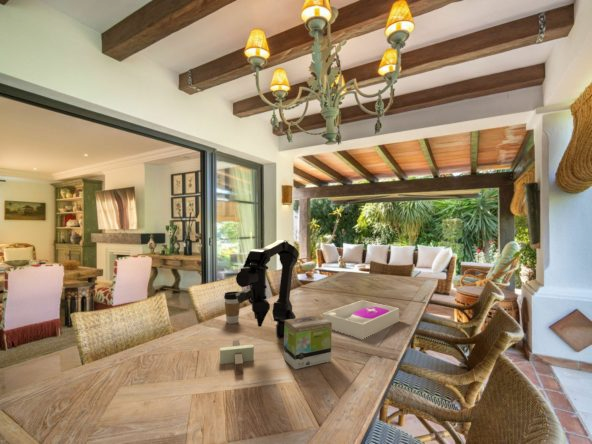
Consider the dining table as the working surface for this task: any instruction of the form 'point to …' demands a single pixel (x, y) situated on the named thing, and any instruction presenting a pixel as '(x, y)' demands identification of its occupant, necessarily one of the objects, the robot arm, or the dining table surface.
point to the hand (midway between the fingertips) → (258, 322)
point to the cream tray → (362, 318)
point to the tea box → (307, 341)
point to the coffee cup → (231, 307)
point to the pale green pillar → (229, 352)
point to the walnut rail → (238, 359)
